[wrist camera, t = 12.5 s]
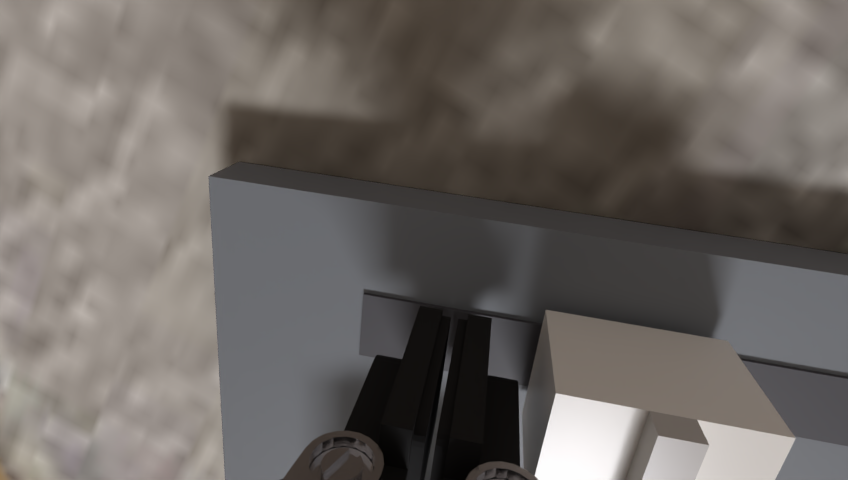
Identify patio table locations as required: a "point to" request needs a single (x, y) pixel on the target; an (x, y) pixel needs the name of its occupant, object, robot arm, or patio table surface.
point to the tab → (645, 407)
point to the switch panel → (490, 303)
